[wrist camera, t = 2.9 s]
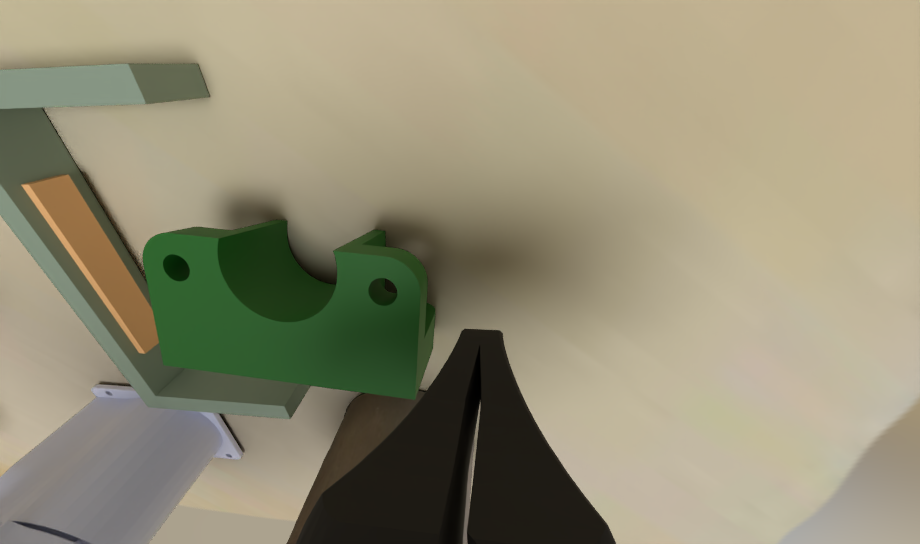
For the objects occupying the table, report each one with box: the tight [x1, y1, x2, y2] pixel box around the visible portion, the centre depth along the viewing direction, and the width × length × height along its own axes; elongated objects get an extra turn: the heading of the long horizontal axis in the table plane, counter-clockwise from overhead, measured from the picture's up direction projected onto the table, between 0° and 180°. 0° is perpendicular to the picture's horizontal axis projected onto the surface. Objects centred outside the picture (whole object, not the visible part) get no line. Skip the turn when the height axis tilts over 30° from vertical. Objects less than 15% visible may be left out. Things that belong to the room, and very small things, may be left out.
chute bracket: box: [0, 64, 311, 419], centre depth 18 cm, size 10×18×3 cm, turn 2°
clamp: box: [143, 220, 435, 400], centre depth 16 cm, size 12×6×9 cm, turn 81°
